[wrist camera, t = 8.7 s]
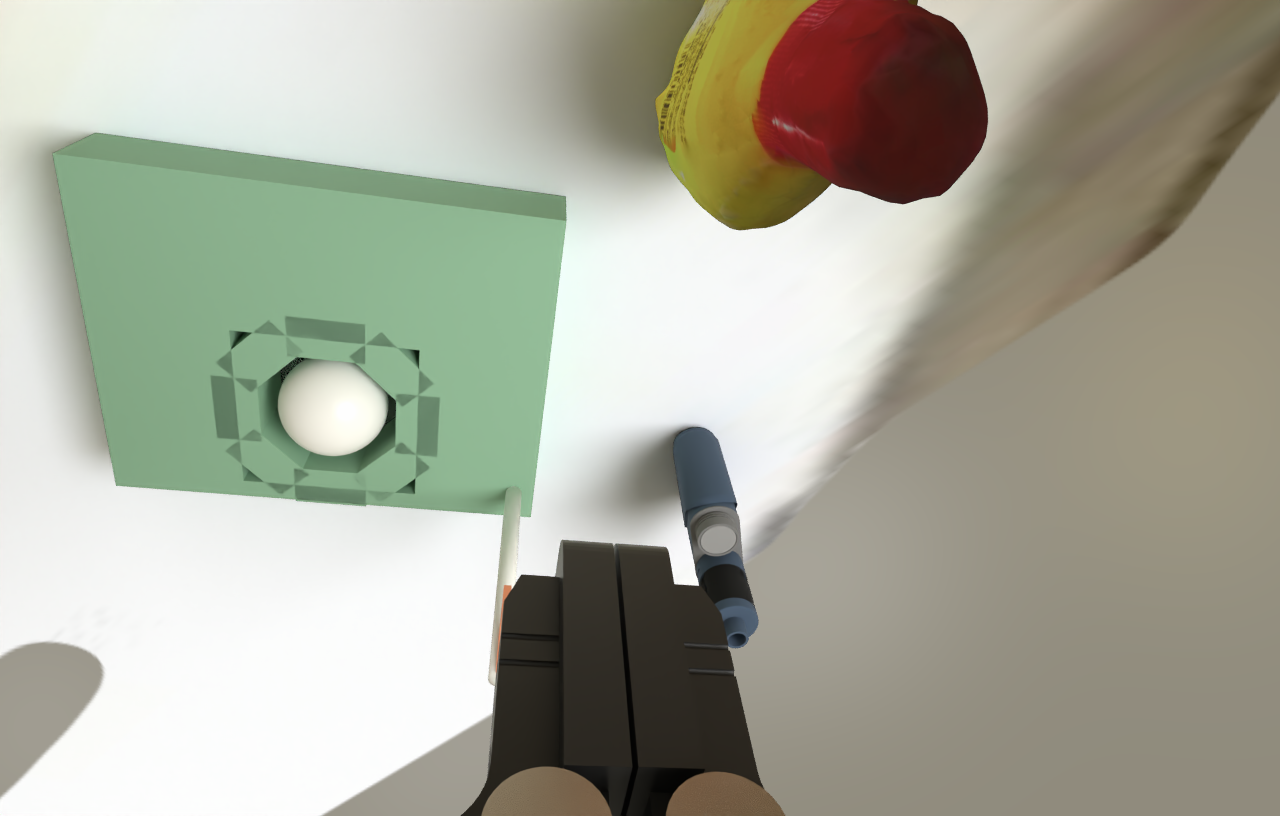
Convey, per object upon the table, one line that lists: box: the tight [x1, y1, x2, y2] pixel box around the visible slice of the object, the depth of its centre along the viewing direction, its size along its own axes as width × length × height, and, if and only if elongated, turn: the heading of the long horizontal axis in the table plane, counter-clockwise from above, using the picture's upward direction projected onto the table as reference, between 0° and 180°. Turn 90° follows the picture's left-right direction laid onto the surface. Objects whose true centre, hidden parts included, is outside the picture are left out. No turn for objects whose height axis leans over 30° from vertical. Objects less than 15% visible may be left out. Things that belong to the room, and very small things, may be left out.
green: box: [52, 133, 566, 686], centre depth 34 cm, size 16×20×16 cm
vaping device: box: [673, 428, 758, 648], centre depth 41 cm, size 3×5×12 cm, turn 7°
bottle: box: [655, 0, 988, 230], centre depth 27 cm, size 12×6×20 cm, turn 152°
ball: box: [278, 358, 388, 456], centre depth 40 cm, size 5×5×5 cm
